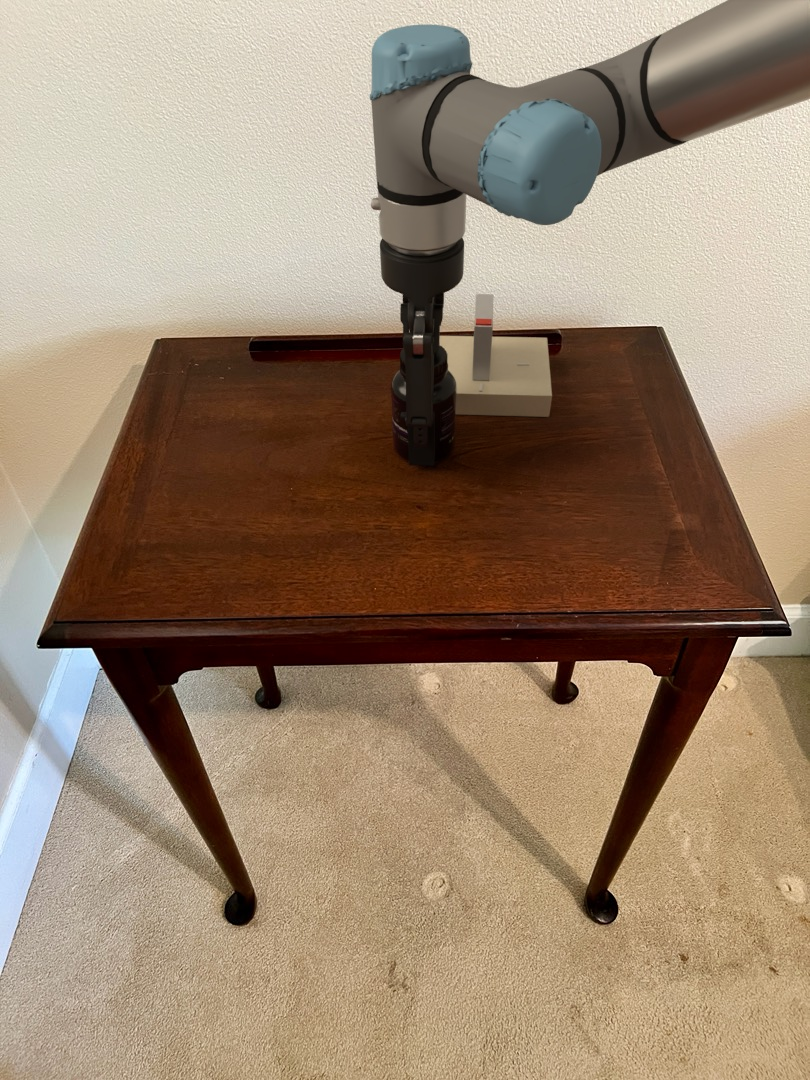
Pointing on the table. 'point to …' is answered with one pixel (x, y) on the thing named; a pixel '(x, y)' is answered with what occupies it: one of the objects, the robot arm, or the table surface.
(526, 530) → the table surface
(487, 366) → the tap lever
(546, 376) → the sink deck
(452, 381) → the supplement bottle
